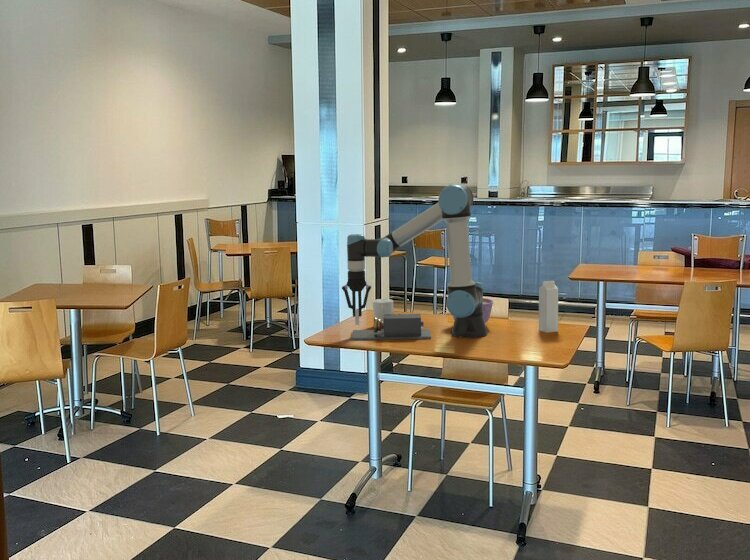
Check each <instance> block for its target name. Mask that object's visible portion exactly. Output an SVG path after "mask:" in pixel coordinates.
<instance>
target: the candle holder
mask: <svg viewBox="0 0 750 560" xmlns="http://www.w3.org/2000/svg"><path fill="white" fill-rule="evenodd" d="M371 302H372V303H371V304H372V313H373V318H374V317H377V319H381V321H383V318H384V314H394V300H393V299H392V298H391V299H389V298H378V299H373V300H372V301H371Z"/></svg>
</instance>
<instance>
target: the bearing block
mask: <svg viewBox="0 0 750 560" xmlns="http://www.w3.org/2000/svg"><path fill="white" fill-rule="evenodd" d="M421 321H422V316H421V313H395V314H394V313H393V314H384V318H383V322H384V328H383V329H381V331H378V333H374V329H353V330H352V333H351V337H350V341H377V340H378V341H379V340H380V341H383V340H385V341H386V340H387V341H388V340H389V341H390V340H393V341H394V340H431V339H432V336H431V329H430V328H421Z"/></svg>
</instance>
